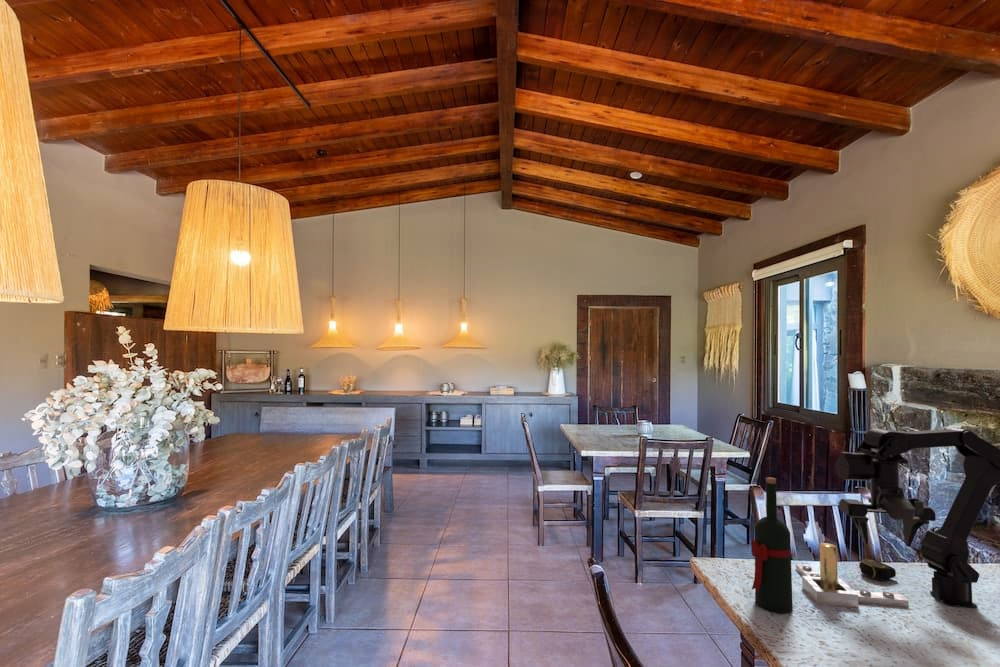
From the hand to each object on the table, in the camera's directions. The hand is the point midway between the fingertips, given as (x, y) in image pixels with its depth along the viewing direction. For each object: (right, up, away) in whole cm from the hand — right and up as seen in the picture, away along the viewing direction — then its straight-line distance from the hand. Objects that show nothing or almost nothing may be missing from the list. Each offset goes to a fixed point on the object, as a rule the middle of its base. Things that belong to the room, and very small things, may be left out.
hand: (886, 544), depth 123 cm
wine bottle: (-31, -13, -5) cm, 34 cm away
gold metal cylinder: (-14, -13, 0) cm, 19 cm away
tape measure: (+7, -14, +12) cm, 20 cm away
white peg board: (-7, -13, +5) cm, 16 cm away
